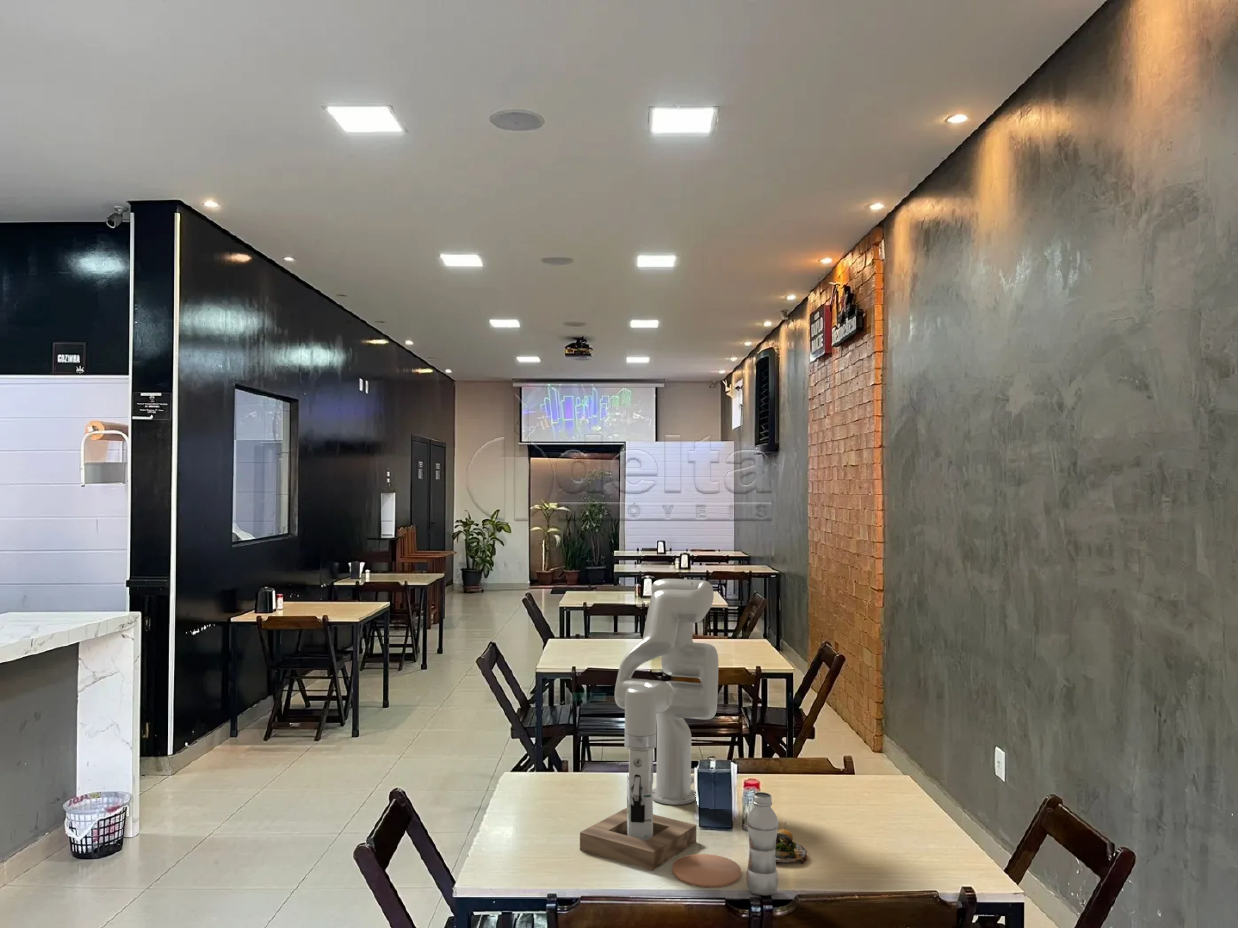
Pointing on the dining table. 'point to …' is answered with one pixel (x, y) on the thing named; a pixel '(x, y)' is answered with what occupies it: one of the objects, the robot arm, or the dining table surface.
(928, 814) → the dining table surface
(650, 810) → the syrup box
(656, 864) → the holder
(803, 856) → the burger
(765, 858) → the plastic bottle
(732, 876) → the plate
